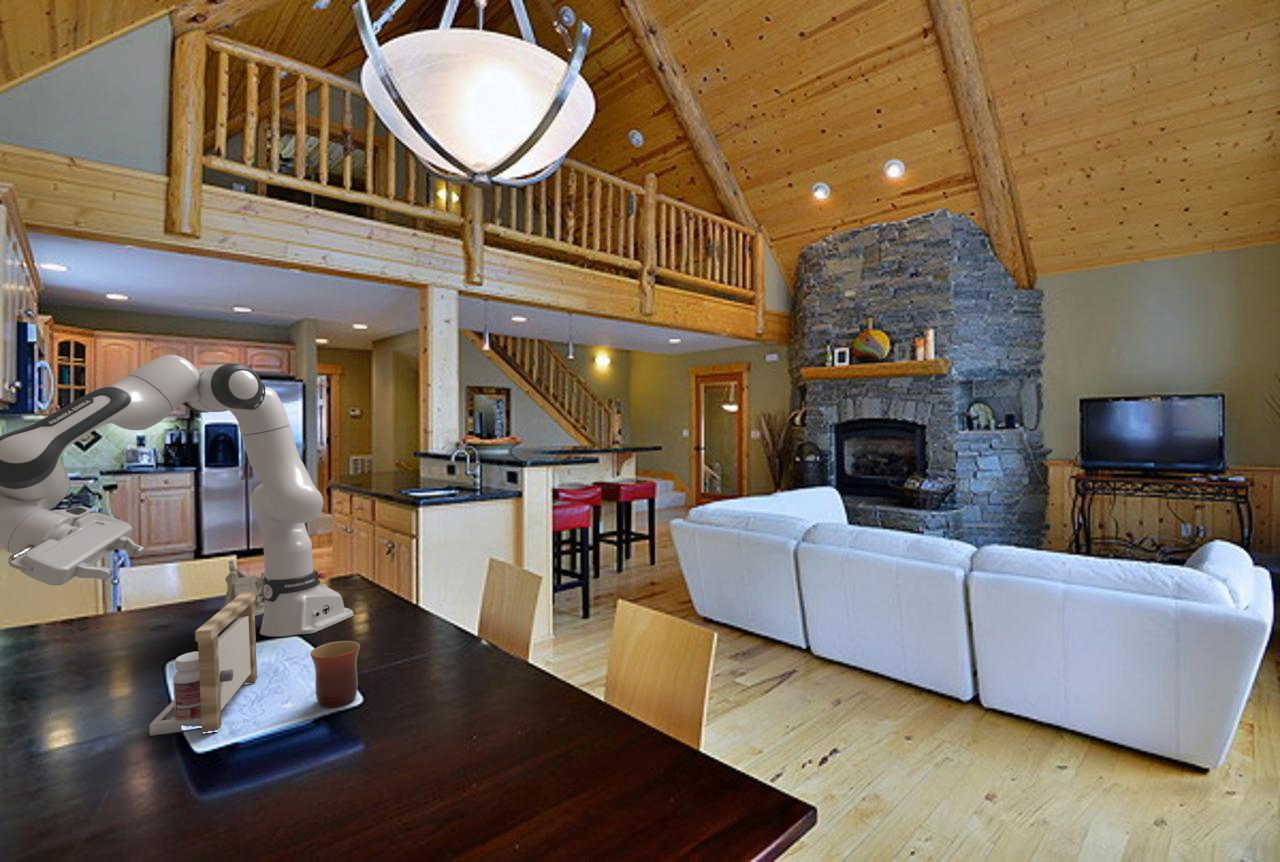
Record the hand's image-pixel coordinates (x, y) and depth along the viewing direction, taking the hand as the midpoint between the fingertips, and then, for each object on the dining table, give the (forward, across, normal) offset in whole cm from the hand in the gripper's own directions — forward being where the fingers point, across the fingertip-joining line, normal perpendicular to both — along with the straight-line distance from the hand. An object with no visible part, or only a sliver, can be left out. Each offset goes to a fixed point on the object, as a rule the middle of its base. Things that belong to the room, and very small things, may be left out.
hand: (126, 563), depth 121 cm
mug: (+46, -8, +7) cm, 48 cm away
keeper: (+24, -12, +17) cm, 32 cm away
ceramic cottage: (+14, +54, +40) cm, 69 cm away
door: (+28, -7, +14) cm, 32 cm away
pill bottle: (+24, -12, +17) cm, 32 cm away
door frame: (+29, -8, +16) cm, 34 cm away
